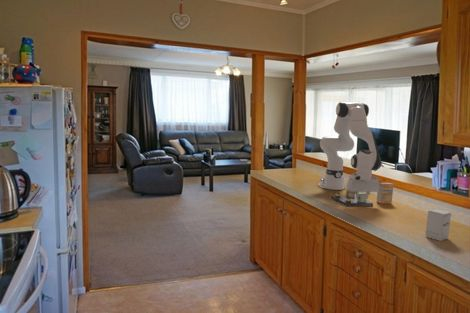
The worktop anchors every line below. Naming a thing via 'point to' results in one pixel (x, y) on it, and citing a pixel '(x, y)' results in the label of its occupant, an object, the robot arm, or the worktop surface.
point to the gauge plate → (353, 202)
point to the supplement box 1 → (385, 193)
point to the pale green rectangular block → (362, 197)
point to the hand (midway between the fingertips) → (361, 198)
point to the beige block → (350, 194)
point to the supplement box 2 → (438, 224)
